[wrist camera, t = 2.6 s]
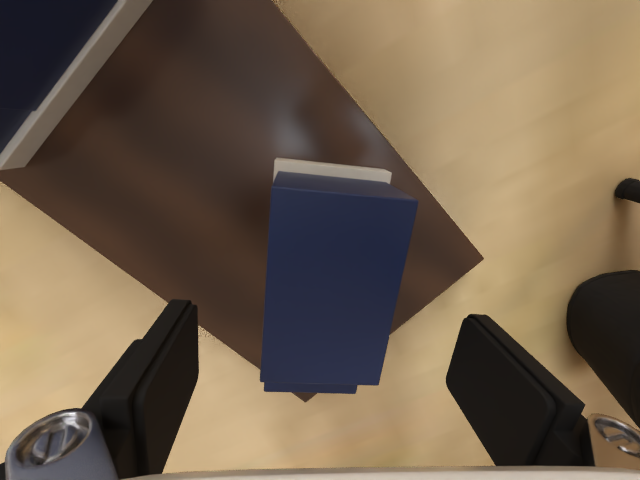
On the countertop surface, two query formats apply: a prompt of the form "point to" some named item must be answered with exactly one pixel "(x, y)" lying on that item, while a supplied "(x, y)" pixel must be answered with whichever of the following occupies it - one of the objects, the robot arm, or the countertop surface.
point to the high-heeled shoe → (611, 325)
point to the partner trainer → (52, 63)
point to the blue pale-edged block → (331, 275)
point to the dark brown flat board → (217, 162)
